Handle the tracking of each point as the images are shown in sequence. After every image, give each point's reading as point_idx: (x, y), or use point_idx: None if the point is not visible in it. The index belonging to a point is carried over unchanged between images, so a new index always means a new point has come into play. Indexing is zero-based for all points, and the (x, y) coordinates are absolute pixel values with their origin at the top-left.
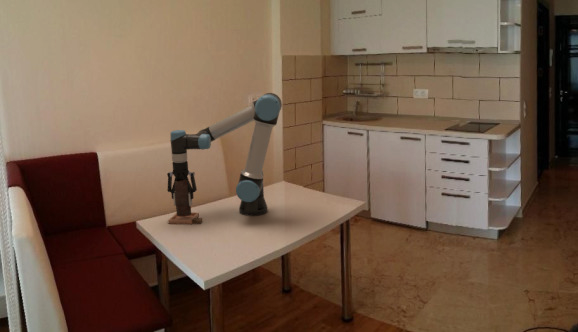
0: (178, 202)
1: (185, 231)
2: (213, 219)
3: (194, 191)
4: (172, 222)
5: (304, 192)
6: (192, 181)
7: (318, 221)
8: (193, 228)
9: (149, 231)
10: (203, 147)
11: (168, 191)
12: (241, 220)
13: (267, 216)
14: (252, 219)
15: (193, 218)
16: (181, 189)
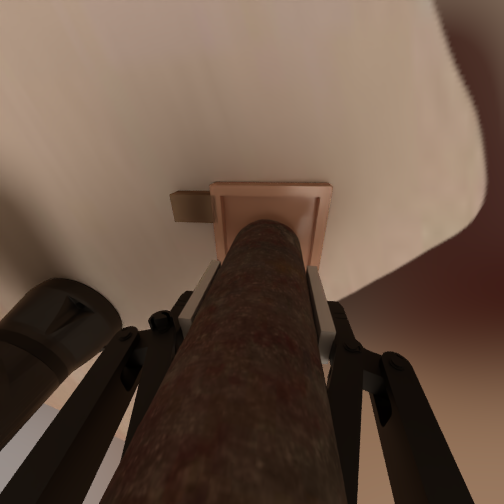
0: (277, 255)
1: (201, 60)
2: (157, 246)
3: (124, 330)
4: (308, 184)
5: None
6: (31, 469)
7: None
8: (182, 121)
9: (431, 23)
10: None
11: (395, 355)
12: (58, 237)
13: (14, 273)
14: (33, 247)
15: (212, 217)
16: (218, 337)
